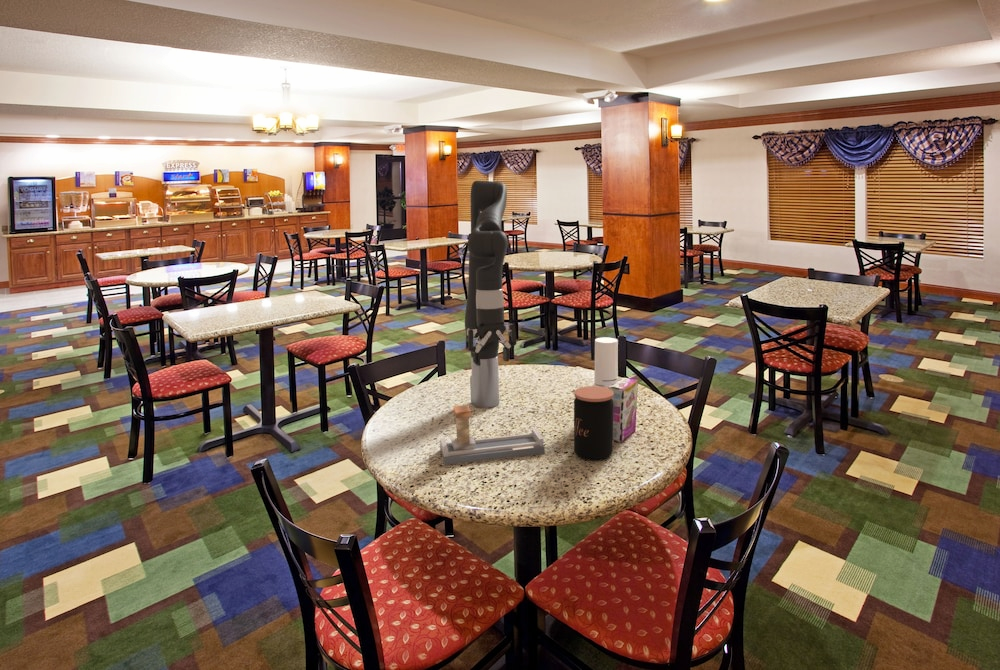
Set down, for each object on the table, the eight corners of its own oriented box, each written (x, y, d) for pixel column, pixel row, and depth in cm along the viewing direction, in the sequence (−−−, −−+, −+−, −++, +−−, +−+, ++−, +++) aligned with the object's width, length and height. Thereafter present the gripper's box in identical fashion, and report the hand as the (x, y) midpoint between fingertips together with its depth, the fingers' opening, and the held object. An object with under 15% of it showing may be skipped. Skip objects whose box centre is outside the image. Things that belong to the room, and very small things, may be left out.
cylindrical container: (616, 419, 192) (617, 343, 186) (593, 418, 193) (594, 342, 188) (616, 411, 199) (617, 337, 193) (594, 410, 200) (595, 337, 194)
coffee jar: (570, 446, 172) (570, 386, 168) (607, 444, 173) (608, 385, 169) (578, 463, 162) (578, 399, 158) (617, 460, 163) (618, 397, 159)
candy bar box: (622, 443, 174) (623, 389, 170) (606, 440, 176) (607, 386, 173) (637, 430, 183) (638, 379, 179) (621, 427, 185) (622, 376, 182)
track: (444, 465, 163) (444, 451, 162) (440, 450, 172) (439, 437, 171) (544, 453, 168) (544, 440, 168) (534, 439, 178) (534, 426, 177)
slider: (454, 452, 165) (452, 412, 162) (451, 445, 170) (449, 406, 167) (475, 449, 166) (474, 410, 164) (472, 442, 171) (471, 404, 168)
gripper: (507, 301, 170) (509, 356, 173) (460, 306, 164) (463, 363, 168) (519, 304, 163) (521, 362, 167) (470, 310, 158) (473, 369, 161)
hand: (491, 363), depth 167 cm, fingers open, 8 cm apart
